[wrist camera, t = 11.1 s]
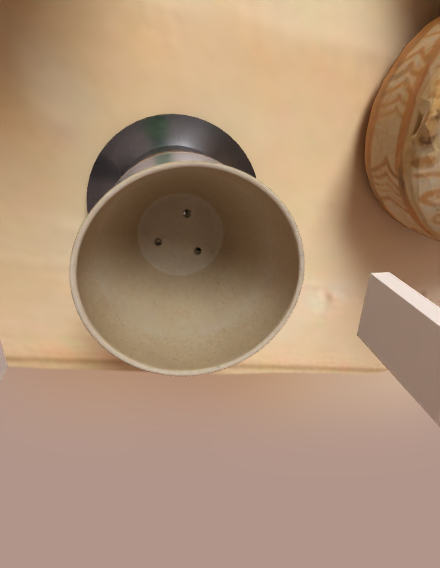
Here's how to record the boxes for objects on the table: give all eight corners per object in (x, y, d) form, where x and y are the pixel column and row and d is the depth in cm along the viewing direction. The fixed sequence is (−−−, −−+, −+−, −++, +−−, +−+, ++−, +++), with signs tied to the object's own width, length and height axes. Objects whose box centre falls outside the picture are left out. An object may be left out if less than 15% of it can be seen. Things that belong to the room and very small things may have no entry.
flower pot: (203, 329, 25) (220, 404, 19) (63, 257, 22) (25, 320, 15) (294, 209, 23) (350, 249, 16) (153, 103, 19) (153, 100, 12)
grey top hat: (62, 238, 29) (33, 278, 22) (135, 74, 25) (128, 61, 18) (205, 302, 33) (219, 352, 26) (286, 172, 29) (327, 192, 22)
